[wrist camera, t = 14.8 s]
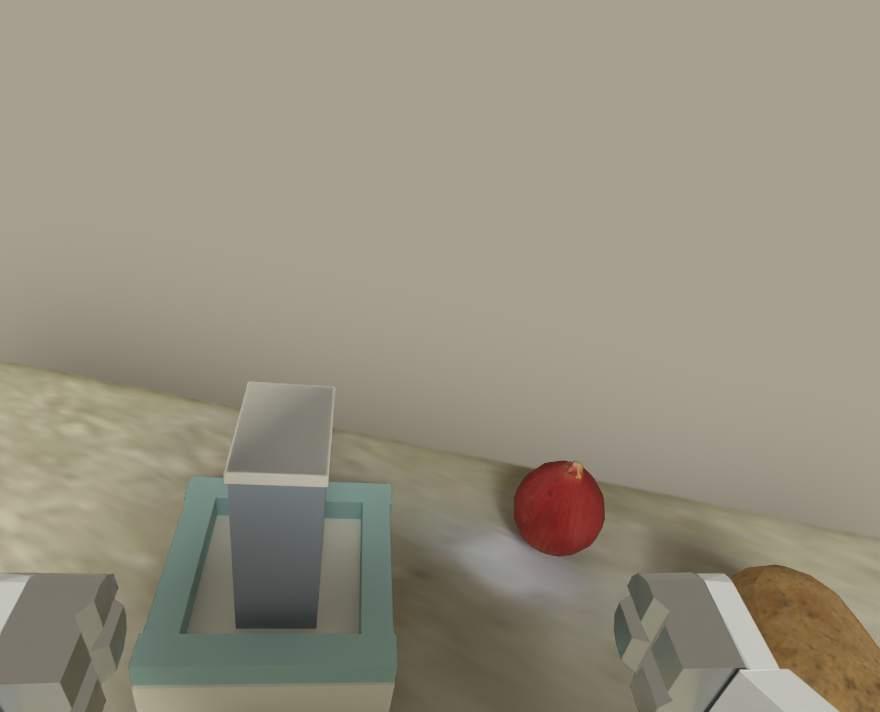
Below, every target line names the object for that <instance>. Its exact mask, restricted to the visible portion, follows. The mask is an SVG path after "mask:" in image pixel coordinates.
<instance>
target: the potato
mask: <svg viewBox="0 0 880 712" xmlns="http://www.w3.org/2000/svg"><path fill="white" fill-rule="evenodd" d="M731 580H732V582H733V584H734V585H735V587H736V589H737V591H738V593H739V595H740V596H741V598H742V600H743V602H744V604H745V606H746V608H747V609H748V611H749V613H750V615H751V617H752V619H753V620H754V622H755V624H756V626H757V628H758V630H759V631H760V633H761V635H762V637H763V639H764V641H765V642H766V644H767V646H768V648H769V650H770V652H771V653H772V655H773V657H774V659H775V661H776V663H777V664H778V666H779V668H782V669H789V670H791V671H792V672H793V673H794V674H795V675H796V676H798V677H799V678H800V679H801V680H802V681H804V682H805V683H806V684H807V685H808V686H810V687H811V688H812V689H813V690H814V691H816V692H817V693H818V694H819V695H820V696H821V697H823V698H824V699H825V700H826V701H827V702H829V703H830V704H831V705H832V706H833V707H835V708H836V709H837V710H838V711H839V712H880V648H879V647H878V646H877V644H876V643H875V642H874V640H873V639H872V638H871V636H870V635H869V633H868V632H867V631H866V629H865V628H864V627H863V625H862V624H861V623H860V621H859V620H858V619H857V618H856V617H855V615H854V614H853V613H852V612H851V610H850V609H849V608H848V607H847V605H846V604H845V603H844V602H843V601H842V599H841V598H840V597H839V596H838V595H837V594H836V593H835V592H834V591H832V590H831V589H829V588H828V587H827V586H825V585H824V584H822V583H821V582H819V581H818V580H816V579H815V578H813V577H812V576H811V575H808V574H805V573H802V572H799V571H796V570H793V569H791V568H788V567H785V566H780V565H768V566H759V567H750V568H746V569H744V570H743V571H741V572H739V573H738V574H736V575H734V576H733V577H732V579H731Z"/></svg>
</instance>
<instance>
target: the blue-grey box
mask: <svg viewBox="0 0 880 712" xmlns="http://www.w3.org/2000/svg"><path fill="white" fill-rule="evenodd" d="M334 400H335V387H329V386H312V385H295V384H280V383H263V382H248V384H247V388H246V392H245V396H244V399H243V403H242V407H241V410H240V414H239V418H238V422H237V425H236V429H235V433H234V436H233V440H232V444H231V448H230V451H229V455H228V459H227V463H226V466H225V470H224V484H227V485H228V502H229V520H230V537H231V555H232V572H233V590H234V607H235V624H236V629H316V627H317V614H318V601H319V588H320V574H321V561H322V548H323V535H324V520H325V505H326V490H327V487H328V480H329V467H330V453H331V440H332V427H333V413H334Z"/></svg>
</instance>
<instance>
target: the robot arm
mask: <svg viewBox="0 0 880 712" xmlns="http://www.w3.org/2000/svg"><path fill="white" fill-rule="evenodd" d="M628 589H629V591H630V594H631V595H630V596H628V597H627V598H625V599H624V600H622V601H621V602H620V603H619V605H618V608H617V610H616V613H615V620H614V633H615V639H616V645H617V648H618V651H619V654H620V657H621V660H622V661H623V662H624V663H625V664H626V665H627V666H628V667H629V668H630V669H631V670H632V671H633V672H634V676H633V679H632V683H631V686H630V688H631V691H632V694H633V696H634V699H635V702H636V705H637V708H638V711H639V712H839V711H838V710H837V709H836V708H835V707H833V706H832V705H831V704H830V703H829V702H827V701H826V700H825V699H824V698H823V697H821V696H820V695H819V694H818V693H817V692H816V691H814V690H813V689H812V688H811V687H810V686H808V685H807V684H806V683H805V682H804V681H802V680H801V679H800V678H799V677H798V676H796V675H795V674H794V673H793V672H792V671H791V670H789V669H782V668H779V666H778V664H777V663H776V661H775V659H774V657H773V655H772V653H771V652H770V650H769V648H768V646H767V644H766V642H765V641H764V639H763V637H762V635H761V633H760V631H759V630H758V628H757V626H756V624H755V622H754V620H753V619H752V617H751V615H750V613H749V611H748V609H747V608H746V606H745V604H744V602H743V600H742V598H741V596H740V595H739V593H738V591H737V589H736V587H735V585H734V584H733V582H732V580H731V579H730V578H729V577H728V576H727V575H726V574H723V573H692V572H678V573H638V574H636V575H634V576H632V578H631V580H630V582H629V584H628ZM117 590H118V585H117V582H116V579H115V577H114V574H67V573H0V712H102V711H103V708H104V705H105V702H106V699H105V696H104V693H103V690H102V687H101V684H102V683H103V682H104V681H105V680H106V679H107V678H108V677H109V676H110V675H111V674H112V673H114V672H115V671H116V670H117V667H118V664H119V661H120V658H121V655H122V651H123V647H124V641H125V635H126V629H127V628H126V613H125V609H124V605H122V604H121V603H119V602H118V601H116V600H115V599H114V598H115V595H116V592H117Z"/></svg>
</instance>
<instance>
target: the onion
mask: <svg viewBox="0 0 880 712" xmlns="http://www.w3.org/2000/svg"><path fill="white" fill-rule="evenodd" d="M583 467H584V466H583V465H582V464H581V463H579V462H577V461H573V462H568V461H556V462H548V463H544V464H543V465H541V466H540V467H538V468H537V469H535V470H533V471H532V472H530V473H529V474H528V475H527V476H526V477H525V478H524V479H523V481H522V483H521V484H520V486H519V488H518V489H517V492H516V495H515V497H514V519H515V521H516V524H517V526H518V528H519V530H520V533H521V535H522V537H523V538H524V539H525V540H526V541H527V542H528V543H529V544H530V545H531V546H532V547H534V548H536V549H537V550H539V551H541V552H543V553H546V554H549V555H553V556H558V557H559V556H567V555H573V554H575V553H577V552H579V551H581V550H583V549H585V548H587V547H589V546H590V545H591V544H592V543H593V542H594V540H595V539H596V538H597V536H598V534H599V533H600V531H601V529H602V527H603V523H604V520H605V510H604V498H603V495H602V492H601V490H600V488H599V487H598V485H597V483H596V481H595V479H594V478H593V477H592V476H591V474H589V473H588V472H587V471H586V470H585V469H584V468H583Z"/></svg>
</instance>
